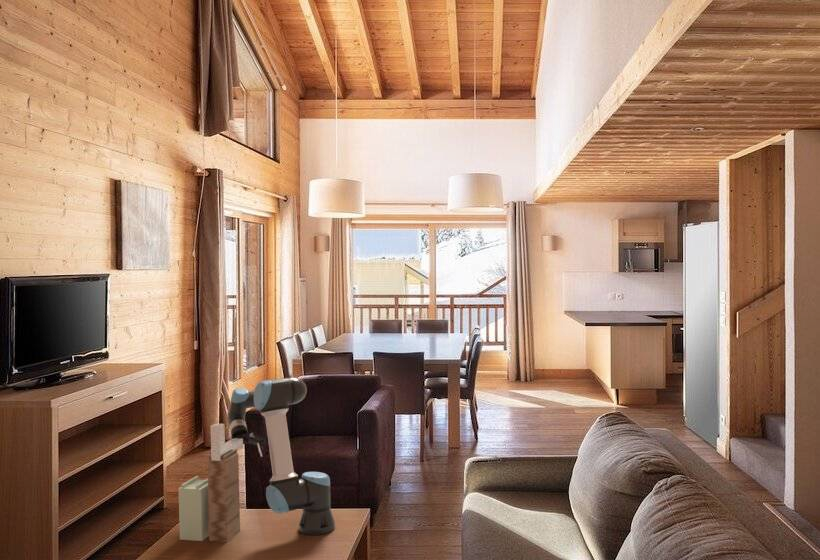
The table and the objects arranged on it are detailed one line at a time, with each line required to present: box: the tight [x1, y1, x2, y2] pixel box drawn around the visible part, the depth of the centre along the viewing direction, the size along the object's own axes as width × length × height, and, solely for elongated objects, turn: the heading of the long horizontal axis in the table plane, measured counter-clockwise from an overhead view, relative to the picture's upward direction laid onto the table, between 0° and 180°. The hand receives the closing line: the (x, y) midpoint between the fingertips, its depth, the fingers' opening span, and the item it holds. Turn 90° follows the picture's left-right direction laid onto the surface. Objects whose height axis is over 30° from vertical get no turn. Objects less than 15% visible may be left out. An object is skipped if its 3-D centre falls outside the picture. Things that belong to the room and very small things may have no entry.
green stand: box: [178, 475, 209, 542], centre depth 270 cm, size 10×12×22 cm
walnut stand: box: [207, 449, 241, 543], centre depth 267 cm, size 8×11×34 cm
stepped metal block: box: [210, 423, 244, 461], centre depth 271 cm, size 20×4×14 cm, turn 168°
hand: (245, 459), depth 283 cm, fingers open, 13 cm apart
